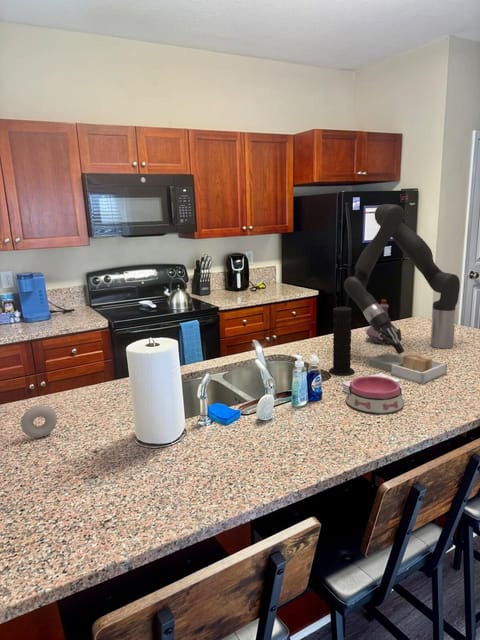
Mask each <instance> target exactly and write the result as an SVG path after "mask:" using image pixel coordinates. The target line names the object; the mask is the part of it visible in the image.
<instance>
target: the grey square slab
mask: <svg viewBox="0 0 480 640" xmlns="http://www.w3.org/2000/svg"><path fill="white" fill-rule="evenodd" d="M368 362H369V363H368V367H371V368H374V369H378V370H381V371H385V372H387V373H391V371H392V365H393V364H394V365H397V366H401V367H403V356H402V355H400V354H394V353H390V352H384V353H383V354H379V355H377V356H374V357H371V358H369V359H368Z"/></svg>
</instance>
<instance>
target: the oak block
mask: <svg viewBox="0 0 480 640" xmlns="http://www.w3.org/2000/svg"><path fill="white" fill-rule="evenodd" d="M402 357H403V367H404V368H408V369H411V370H415V371H418V372H424V371H427V370H429V369H432V360H433V358H431V357H426V356H423V355H419V354H414V353H408V354H405V355H403V356H402Z"/></svg>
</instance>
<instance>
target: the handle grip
mask: <svg viewBox="0 0 480 640" xmlns="http://www.w3.org/2000/svg"><path fill="white" fill-rule="evenodd" d="M332 317H333V319H332V320H333V322H332V324H333V325H332V326H333V327H332V329H333V331H332V333H333V335H332V337H333V338H332V341H333V343H332V349H333V350H332V352H333V353H332V357H333V358H332V360H333V361H332V367H330V368H329V370H328V373H329V375H330V374H331V375H333V376H335V377H348V376H352V375H354V374H355V373H356V372H355V370H354V368H352V367H351V366H352V364H351V361H352V358H351V357H352V354H351V353H352V351H351V350H352V346H351V345H352V307H347V306H338V307H334V308H333V316H332Z"/></svg>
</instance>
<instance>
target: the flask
mask: <svg viewBox="0 0 480 640" xmlns="http://www.w3.org/2000/svg"><path fill="white" fill-rule="evenodd" d="M379 305H380V306H381V307H382V309H383V310H384V312H385V313H386V314H387V316H388V317H389V313H388V310H389V307H390V306H389V304H387V299H381V300H380V304H379ZM391 325H392V326H393V327H394V329H396V330H398V329H399V328H397V327H396V326H395V325H394V324H393V323H392V322H391ZM365 332H366V335H367V336H368V337H369V339H370V340H371V341H372V342H373V343H377V344H382V343H383V342H381V341H380V340H378V339H377V337H378V336H379V334H378V331H375V330H374V329H373V328H372V326H371V325H370V326H369V327H368V328H366V331H365ZM388 343H389V342H388ZM383 344H384V343H383Z"/></svg>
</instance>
